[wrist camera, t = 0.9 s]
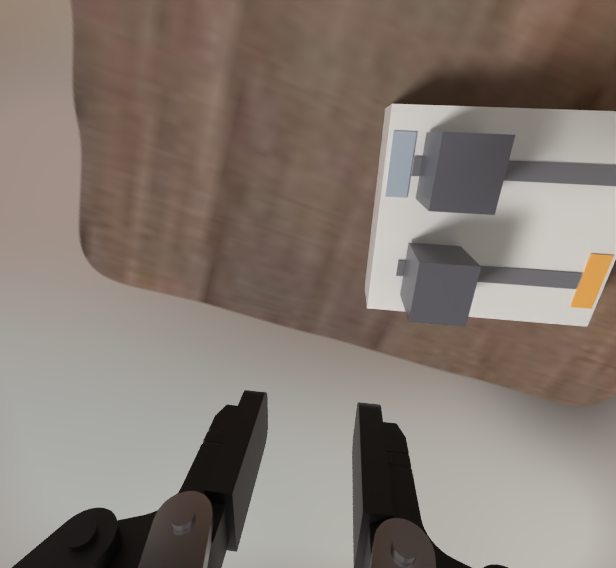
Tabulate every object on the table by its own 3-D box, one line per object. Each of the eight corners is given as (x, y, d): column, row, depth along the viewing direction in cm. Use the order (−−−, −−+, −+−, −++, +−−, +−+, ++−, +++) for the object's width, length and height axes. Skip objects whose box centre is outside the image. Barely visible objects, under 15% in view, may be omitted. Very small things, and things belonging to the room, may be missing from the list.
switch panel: (364, 287, 30) (367, 308, 26) (385, 108, 24) (392, 103, 21) (556, 302, 29) (587, 327, 25) (625, 116, 23) (679, 113, 19)
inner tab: (415, 198, 22) (428, 211, 19) (426, 132, 21) (443, 131, 17) (470, 201, 22) (494, 215, 19) (485, 134, 21) (515, 134, 17)
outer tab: (400, 294, 25) (408, 321, 22) (408, 242, 24) (419, 262, 20) (448, 298, 25) (465, 326, 21) (460, 246, 23) (481, 266, 20)
